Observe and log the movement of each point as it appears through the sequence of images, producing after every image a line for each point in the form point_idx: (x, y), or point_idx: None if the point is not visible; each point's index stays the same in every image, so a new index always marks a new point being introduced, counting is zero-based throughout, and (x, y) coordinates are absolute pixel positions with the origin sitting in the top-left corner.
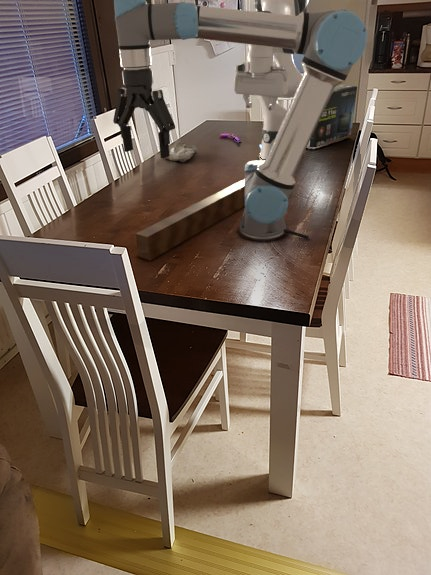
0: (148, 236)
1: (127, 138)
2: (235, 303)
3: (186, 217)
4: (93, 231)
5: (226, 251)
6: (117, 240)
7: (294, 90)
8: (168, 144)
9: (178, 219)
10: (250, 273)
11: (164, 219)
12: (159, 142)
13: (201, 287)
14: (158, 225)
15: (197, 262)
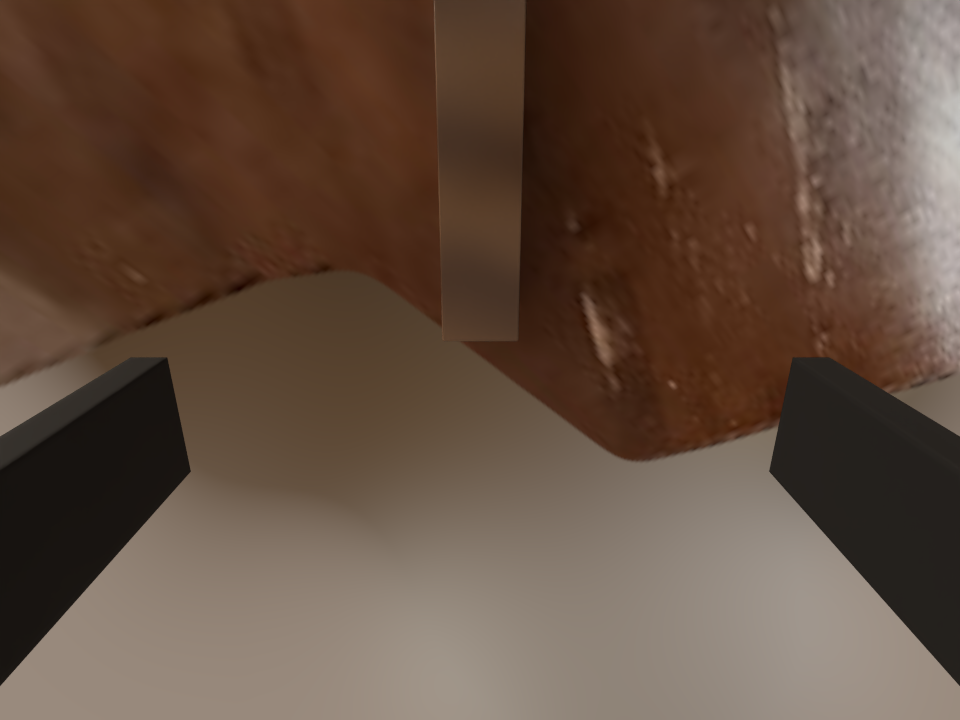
0: (517, 332)
1: (77, 529)
2: (949, 375)
3: (525, 6)
4: (69, 232)
5: (763, 47)
6: (246, 242)
7: None
8: (942, 430)
9: (512, 74)
10: (940, 173)
11: (441, 122)
12: (896, 608)
13: (800, 356)
14: (471, 208)
15: (692, 214)
